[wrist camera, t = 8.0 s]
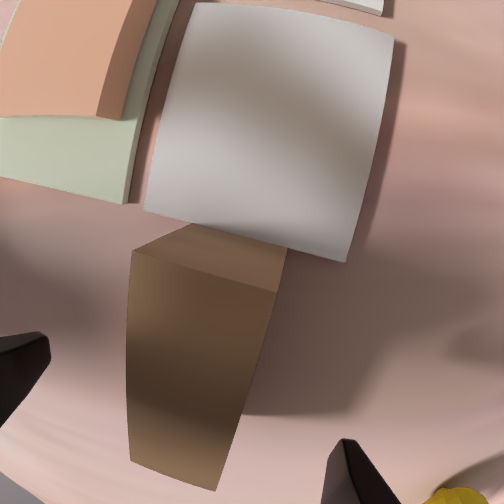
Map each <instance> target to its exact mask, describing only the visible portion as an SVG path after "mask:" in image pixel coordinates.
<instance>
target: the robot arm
mask: <svg viewBox="0 0 504 504" xmlns="http://www.w3.org/2000/svg"><path fill="white" fill-rule="evenodd" d="M50 361H51V352H50V345H49V339H48V337H47V336H46V335H44V334H42V333H40V332H38V331H36V332H30V333H24V334H18V335H12V336H5V337H0V428H1V426H2V425H3V424H4V423H5V422H6V420H7V419H8V418H9V417H10V415H11V414H12V413H13V412H14V411H15V409H16V408H17V407H18V406H19V405H20V404H21V402H22V401H23V400H24V399H25V398H26V396H27V395H28V394H29V392H30V391H31V389H32V388H33V387H34V385H35V384H36V382H37V381H38V379H39V378H40V376H41V375H42V374H43V372H44V371H45V369H46V368H47V366H48V365H49V364H50ZM321 504H401V503H400V501H399V500H398V498H397V497H396V496H395V494H394V493H393V492H392V490H391V489H390V487H389V486H388V485H387V483H386V482H385V480H384V479H383V478H382V476H381V475H380V473H379V472H378V471H377V469H376V468H375V466H374V465H373V464H372V462H371V461H370V459H369V458H368V457H367V455H366V454H365V452H364V451H363V450H362V448H361V447H360V445H359V444H358V442H357V441H355V440H352V439H345V438H343V439H341V440H340V441H339V442H338V443H337V445H336V446H335V448H334V449H333V451H332V452H331V454H330V455H329V458H328V461H327V467H326V474H325V480H324V487H323V493H322V498H321Z"/></svg>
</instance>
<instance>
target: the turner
mask: <svg viewBox="0 0 504 504" xmlns="http://www.w3.org/2000/svg"><path fill="white" fill-rule="evenodd" d="M394 37H395V36H393V35H390V34H387V33H385V32H381V31H378V30H375V29H372V28H369V27H365V26H362V25H358V24H355V23H351V22H347V21H344V20H339V19H335V18H331V17H327V16H322V15H317V14H312V13H307V12H302V11H296V10H290V9H283V8H276V7H267V6H258V5H247V4H233V3H195V6H194V9H193V11H192V14H191V17H190V20H189V23H188V26H187V29H186V32H185V35H184V38H183V41H182V44H181V47H180V50H179V54H178V57H177V60H176V64H175V67H174V70H173V74H172V77H171V81H170V85H169V88H168V92H167V96H166V100H165V104H164V108H163V112H162V116H161V120H160V125H159V129H158V134H157V138H156V143H155V148H154V153H153V158H152V163H151V168H150V173H149V179H148V184H147V190H146V196H145V203H144V209H143V211H146V212H150V213H154V214H158V215H162V216H166V217H170V218H174V219H178V220H182V221H186V222H190V223H192V224H190V225H187V226H185V227H183V228H181V229H178V230H176V231H174V232H172V233H170V234H167V235H165V236H163V237H161V238H159V239H156V240H154V241H152V242H150V243H148V244H146V245H143V246H141V247H139V248H137V249H135V250H133V251H132V258H131V268H130V280H129V293H128V309H127V333H126V399H127V422H128V437H129V449H130V460H131V461H132V462H135V463H137V464H139V465H141V466H144V467H146V468H149V469H151V470H153V471H156V472H158V473H161V474H164V475H166V476H169V477H172V478H174V479H177V480H180V481H183V482H186V483H189V484H192V485H195V486H198V487H201V488H204V489H208V490H211V491H216V488H217V485H218V482H219V480H220V477H221V474H222V471H223V468H224V465H225V462H226V459H227V456H228V453H229V450H230V447H231V444H232V441H233V438H234V435H235V432H236V429H237V426H238V423H239V419H240V416H241V413H242V410H243V407H244V404H245V401H246V397H247V394H248V391H249V388H250V384H251V381H252V378H253V375H254V371H255V368H256V365H257V361H258V358H259V355H260V351H261V348H262V345H263V341H264V338H265V334H266V331H267V328H268V324H269V321H270V317H271V314H272V310H273V307H274V303H275V299H276V296H277V292H278V288H279V284H280V280H281V275H282V271H283V267H284V262H285V258H286V253H287V249H288V248H290V249H294V250H298V251H301V252H305V253H309V254H313V255H316V256H320V257H324V258H328V259H331V260H335V261H339V262H343V263H345V261H346V258H347V255H348V251H349V248H350V245H351V241H352V238H353V234H354V231H355V228H356V224H357V220H358V217H359V213H360V209H361V206H362V202H363V198H364V194H365V190H366V186H367V182H368V178H369V174H370V170H371V166H372V162H373V157H374V153H375V148H376V144H377V139H378V134H379V129H380V125H381V119H382V114H383V109H384V104H385V98H386V92H387V86H388V80H389V74H390V67H391V60H392V53H393V45H394Z"/></svg>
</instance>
